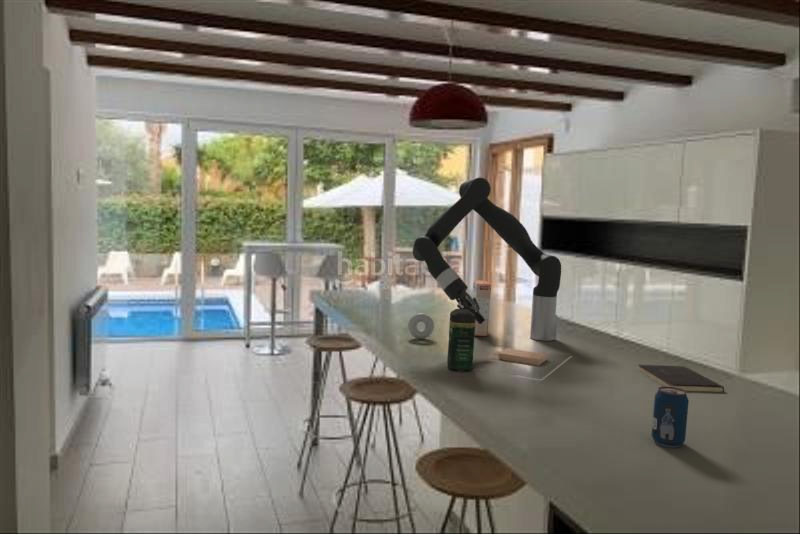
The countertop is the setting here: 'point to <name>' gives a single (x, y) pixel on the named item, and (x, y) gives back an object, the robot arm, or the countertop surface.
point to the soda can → (670, 416)
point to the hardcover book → (680, 378)
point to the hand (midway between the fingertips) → (482, 322)
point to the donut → (416, 319)
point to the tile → (522, 356)
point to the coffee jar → (461, 340)
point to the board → (495, 357)
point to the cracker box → (482, 305)
